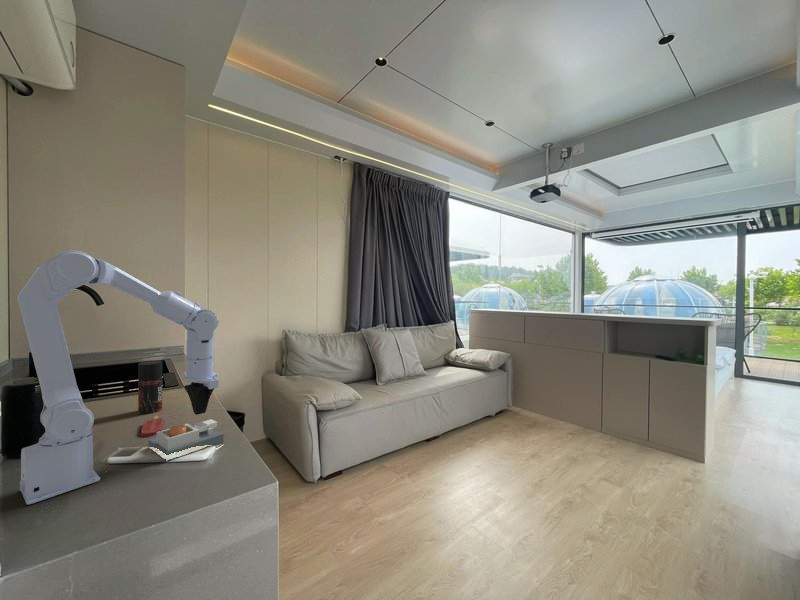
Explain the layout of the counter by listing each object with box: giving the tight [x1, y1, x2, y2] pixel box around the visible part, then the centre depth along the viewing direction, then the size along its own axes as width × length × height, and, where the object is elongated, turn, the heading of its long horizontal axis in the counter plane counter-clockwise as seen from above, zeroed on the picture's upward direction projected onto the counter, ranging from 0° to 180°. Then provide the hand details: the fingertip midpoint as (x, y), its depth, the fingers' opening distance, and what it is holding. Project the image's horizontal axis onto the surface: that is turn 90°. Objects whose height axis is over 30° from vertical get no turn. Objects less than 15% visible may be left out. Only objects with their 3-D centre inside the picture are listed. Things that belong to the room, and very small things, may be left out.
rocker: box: [193, 418, 218, 432], centre depth 82 cm, size 4×4×1 cm
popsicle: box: [140, 415, 165, 438], centre depth 90 cm, size 4×2×15 cm
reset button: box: [169, 424, 186, 437], centre depth 76 cm, size 3×3×3 cm
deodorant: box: [137, 360, 163, 415], centre depth 102 cm, size 6×6×15 cm
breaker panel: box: [147, 423, 224, 455], centre depth 79 cm, size 12×11×4 cm
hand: (199, 413), depth 81 cm, fingers closed
